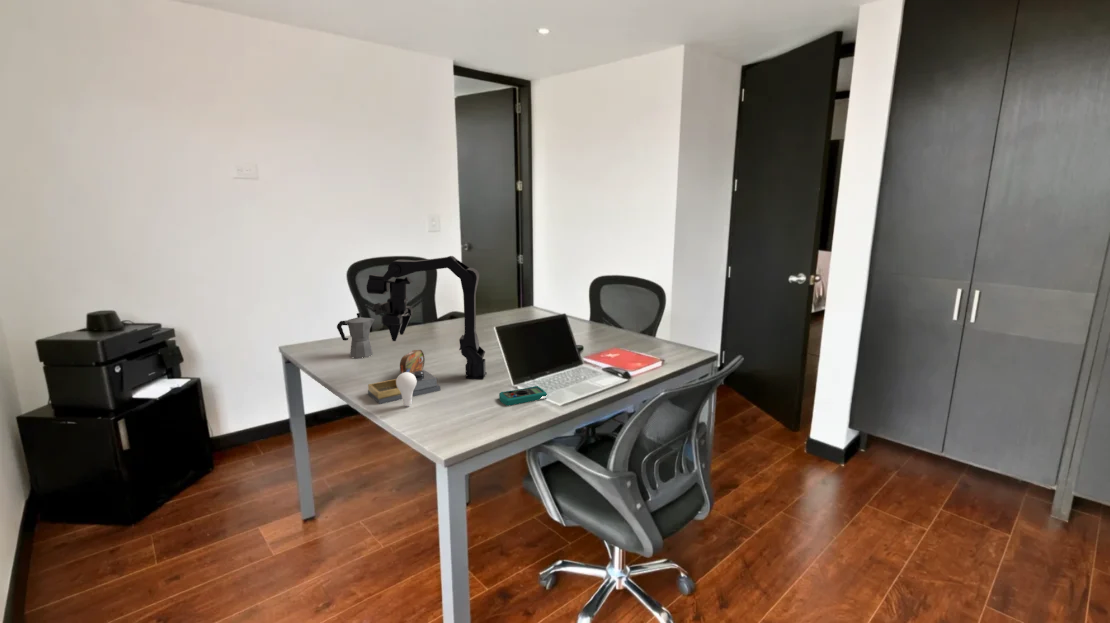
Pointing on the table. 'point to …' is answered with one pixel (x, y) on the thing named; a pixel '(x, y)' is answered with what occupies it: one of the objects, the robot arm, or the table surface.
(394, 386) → the grey base with tray
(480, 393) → the table surface
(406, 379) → the lightbulb
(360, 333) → the coffeepot
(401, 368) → the tin
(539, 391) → the digital multimeter
